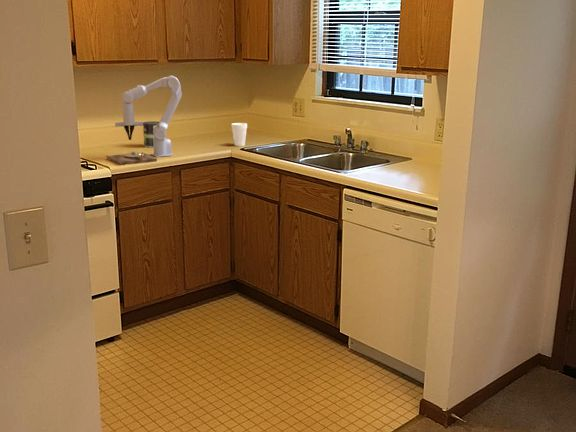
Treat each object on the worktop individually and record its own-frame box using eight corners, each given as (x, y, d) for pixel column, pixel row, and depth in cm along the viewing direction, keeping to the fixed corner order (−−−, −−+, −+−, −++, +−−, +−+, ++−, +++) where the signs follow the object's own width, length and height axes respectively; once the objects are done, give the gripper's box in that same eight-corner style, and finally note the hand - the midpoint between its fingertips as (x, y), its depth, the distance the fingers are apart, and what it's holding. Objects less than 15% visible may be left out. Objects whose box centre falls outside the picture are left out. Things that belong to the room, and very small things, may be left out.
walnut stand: (142, 155, 341) (142, 147, 340) (156, 161, 326) (156, 152, 324) (107, 158, 331) (106, 150, 329) (120, 165, 315) (119, 156, 313)
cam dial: (122, 155, 331) (122, 150, 330) (140, 153, 336) (140, 148, 335) (130, 159, 319) (130, 154, 319) (149, 158, 324) (148, 153, 324)
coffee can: (145, 148, 363) (144, 124, 359) (142, 145, 372) (141, 121, 368) (162, 147, 366) (161, 123, 362) (160, 144, 375) (158, 121, 371)
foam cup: (229, 146, 372) (229, 124, 368) (234, 143, 381) (234, 122, 377) (244, 147, 370) (244, 125, 366) (249, 144, 378) (249, 123, 375)
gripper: (114, 115, 325) (116, 141, 329) (142, 115, 328) (144, 140, 332) (114, 113, 331) (116, 139, 335) (142, 113, 335) (143, 138, 339)
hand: (130, 139), depth 334 cm, fingers closed
